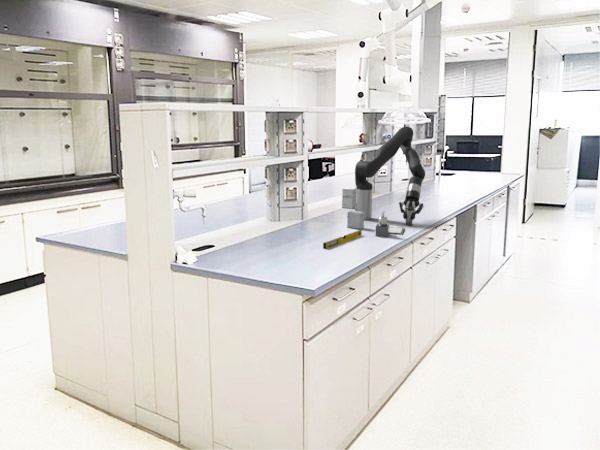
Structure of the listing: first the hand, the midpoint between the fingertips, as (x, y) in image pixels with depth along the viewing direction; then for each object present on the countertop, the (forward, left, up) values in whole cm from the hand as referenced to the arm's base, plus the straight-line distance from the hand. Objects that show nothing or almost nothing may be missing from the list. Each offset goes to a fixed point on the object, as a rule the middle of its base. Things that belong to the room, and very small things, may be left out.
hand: (408, 218), depth 286 cm
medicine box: (-27, -13, -4) cm, 30 cm away
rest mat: (-7, -16, -4) cm, 18 cm away
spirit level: (-27, -46, -5) cm, 54 cm away
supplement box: (-42, +49, -4) cm, 65 cm away
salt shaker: (0, +2, -4) cm, 4 cm away
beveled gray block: (-11, -27, -4) cm, 29 cm away
